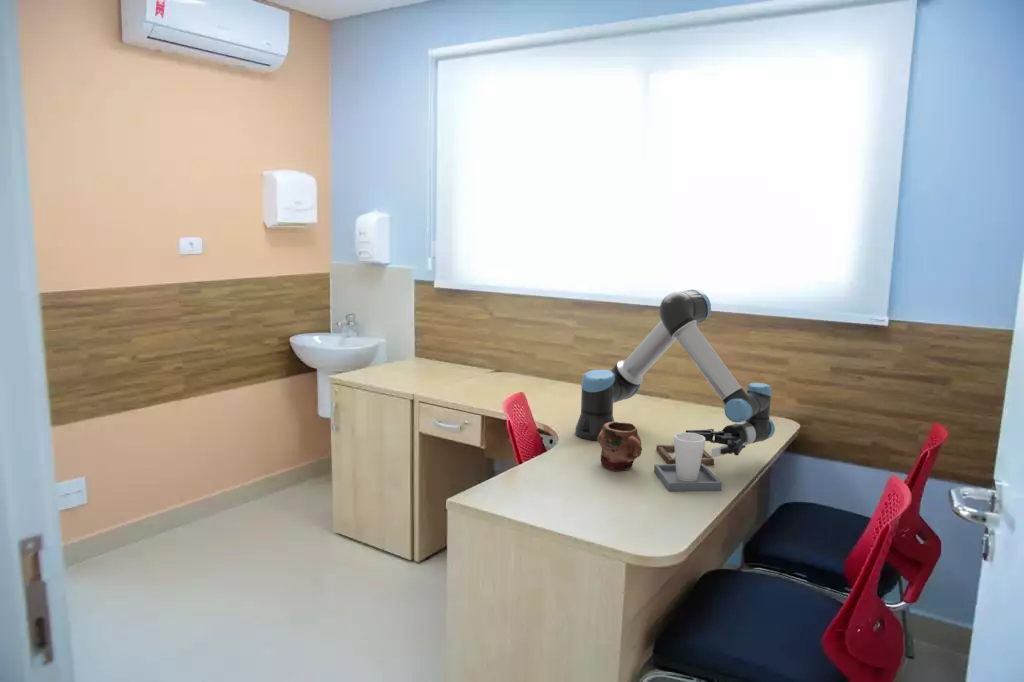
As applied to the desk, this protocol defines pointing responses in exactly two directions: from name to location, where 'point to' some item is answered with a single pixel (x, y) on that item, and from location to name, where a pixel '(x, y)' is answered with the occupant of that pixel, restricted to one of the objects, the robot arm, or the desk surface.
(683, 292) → the robot arm
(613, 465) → the sculpted ceramic mug
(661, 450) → the walnut collar
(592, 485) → the desk surface
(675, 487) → the charcoal tray
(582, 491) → the desk surface
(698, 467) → the foam cup
